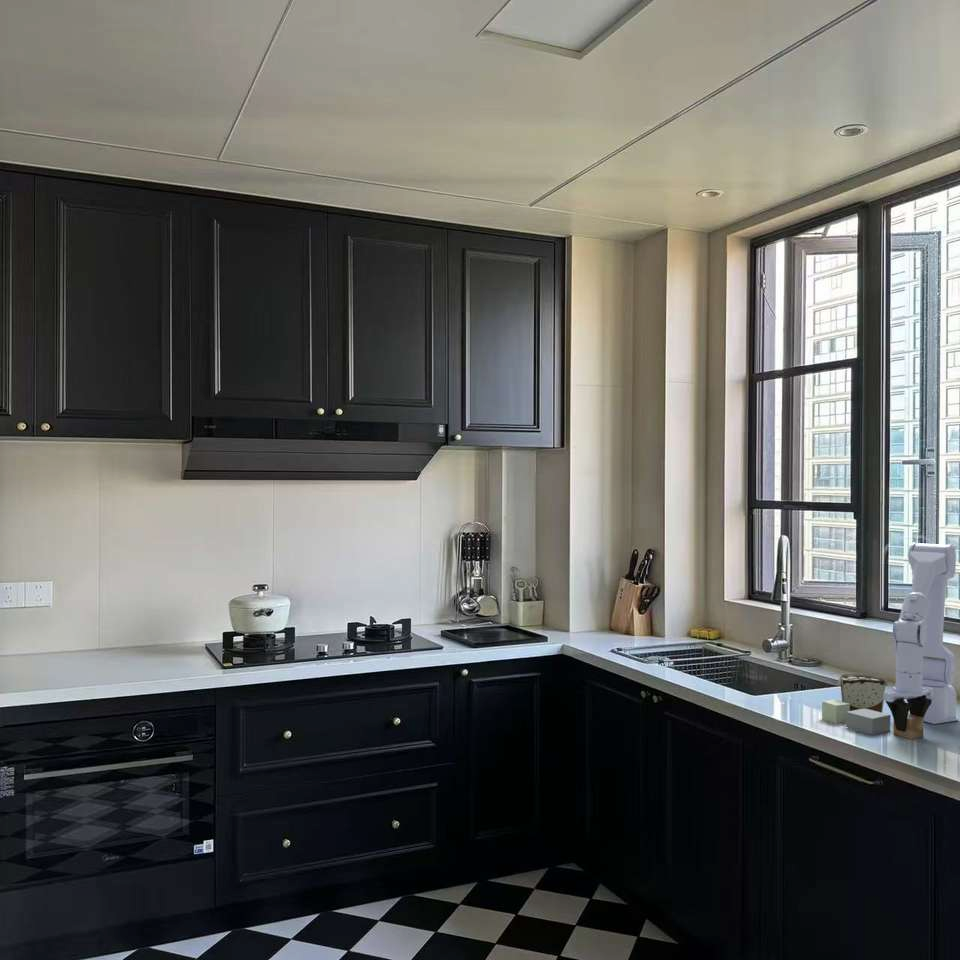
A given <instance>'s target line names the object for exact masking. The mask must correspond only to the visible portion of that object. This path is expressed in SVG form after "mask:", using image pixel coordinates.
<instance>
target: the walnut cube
mask: <svg viewBox="0 0 960 960" xmlns="http://www.w3.org/2000/svg"><path fill="white" fill-rule="evenodd" d="M892 727H893V728H892V729H893V735H895V736H899V737H902V738H905V739H908V740H912V739H919V738H923V737H924V721H923V717H919V716H916V715H912V714H910V712H908V717H907V726H906V731H905V732H902V731H899V730H896V727H895V722H894V721H893V726H892Z"/></svg>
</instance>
